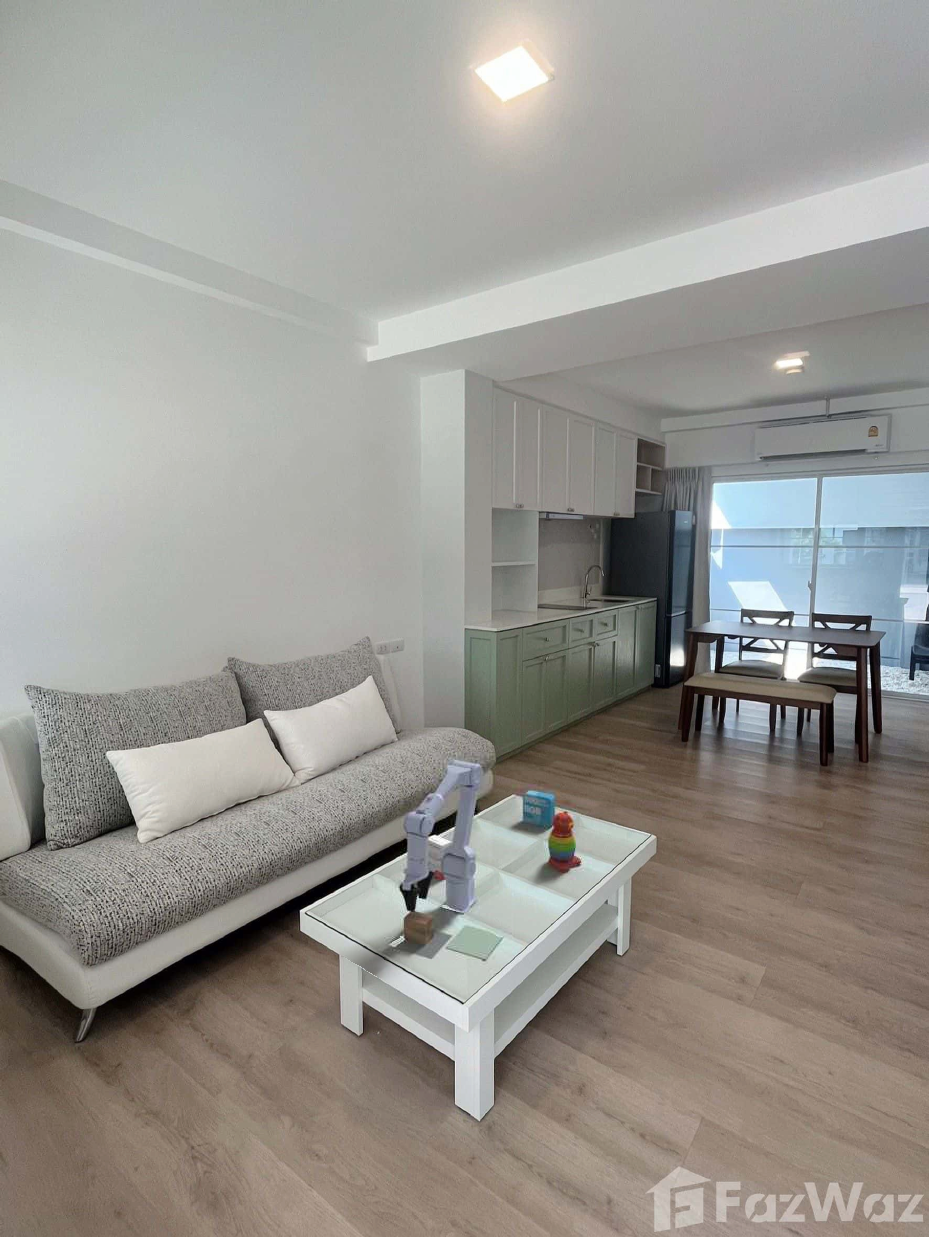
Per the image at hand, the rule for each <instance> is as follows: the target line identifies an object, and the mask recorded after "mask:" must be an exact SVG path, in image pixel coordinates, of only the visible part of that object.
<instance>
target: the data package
mask: <svg viewBox="0 0 929 1237" xmlns="http://www.w3.org/2000/svg"><path fill="white" fill-rule="evenodd" d="M555 815H556V797H555V795H553V794H551V793H546V792H541V791H535V790H532V789H531V790H530V789H529V790H528V791H527V792H525V793H524V794H523V795H522V820H523V822H524V823H526V824H529V825H530V824H531V825H533V824H534V825H535V826H538V827H543V826H545V827H544V828H547V827H548V828H550V827H551V826H553V817H554V816H555ZM534 825H533V826H534Z"/></svg>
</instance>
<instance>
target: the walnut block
mask: <svg viewBox="0 0 929 1237" xmlns="http://www.w3.org/2000/svg"><path fill="white" fill-rule="evenodd" d="M434 918H435V917H434V915H431V914H427V913H423V912H421V911H416V910H415V911H414V912H411V911H409V913H407V914H406V915H405V916H404V917H403V929H404V938H405V939H407V940H411V941H414V942H417V943H421V944H424V945H426V944H427V943H428V942H429V941H430V940H431V939H432V938H433V937H434V928H435V926H434V925H435V920H434Z"/></svg>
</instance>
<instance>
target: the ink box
mask: <svg viewBox="0 0 929 1237" xmlns="http://www.w3.org/2000/svg"><path fill="white" fill-rule="evenodd" d="M451 844H452V841H451V840H448V839H446V838H443V837H441V836H438V835H436V834H434V835H431V836H428V862H431V869H430V870H429V871H432V872H434V877H435V878H437V879H439V880H442V881H444V880H446V878H445V877H444V874H443V873H442V872H441V870H440V861H441V858H442V856H443V853H444V849H445V848H446V847H448V846H450V845H451Z"/></svg>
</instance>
